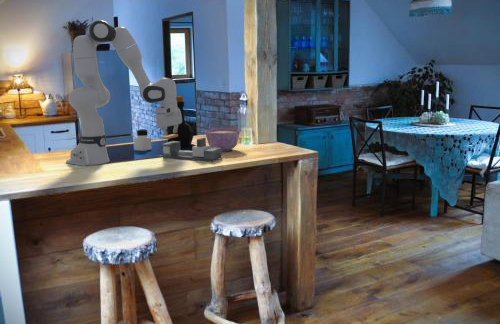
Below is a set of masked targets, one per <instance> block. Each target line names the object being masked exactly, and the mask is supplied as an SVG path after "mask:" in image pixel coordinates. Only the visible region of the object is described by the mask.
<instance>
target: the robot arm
mask: <svg viewBox="0 0 500 324" xmlns="http://www.w3.org/2000/svg"><path fill="white" fill-rule="evenodd" d="M106 43H109V44H110V45H111V46H112V47H113V48H114V51H115V52H116V54H117V56H118V57H119V59H120V60H121V61H122V62H123V65H125V66H126V67H127V68H128V70H130V72H131V74H132V76H133V77H134V79H135V81H136V83H137V85H138V86H139V94H140V97H141V99H142V100H143V102H146V103H148V104H155V103H158V102H160V105H159V106H157V108H155V109H154V111H155V114H156V115H155V121H156V127H157V128H159V129H161V130H162V133H163V136H166V135H168V132H167V131H166V130H167V128H168V127H169V126H172V125H174V130H173V133H177V128H178V124H181V123H182V115H181V111H180V109H179V108H178V107H177V100H176V96H178V95H177V85H176V82H175V80H174V79H173V78H168V77H160V78H159V79H158V80H156V81H155V82H153V83H152V82H151V80H150V79H149V77H148V75H147V73H146V71H145V68H144V66H143V62H142V60H143V59H142V52H141V50H140V47H139V45H138V44H137V42H136V40H135V38H134V37H133V35H132V33H131V32H130V31H129V30H128V29H127V28H126V27H124V26H116V27H114V26H113V25H111V24H109V23H108V22H107V21H105V20H101V19H96V20H94V21H93V22H90V24H89V26H88V27H87V30H86V33H85V34H84V35H83V34H82V35H78V36H76V37H75V38H74V40H73V43H72V55H73V64H74V72H75V73H74V74H75V75H76V77H77V78H79V80H80V81H81V83H82V86H80V87H77V88H75V89H73V90H71V91H70V93H69V94H68V103H69V104H70V106H71V107H72V108H73V109H74V110H75V111H76V113H77V115H78V118H79V120H80V121H79V123H80V129H81V136H78V137H77V139H78V140H79V143H78V144H77V145H76V146H75V147H74V148H72V150H71V151H70V153H69V154H70V155H69V156H70V158H69V159H67V160H66V161H65V164H72V165H77V166H82V167H83V166H84V167H85V166H94V165H95V166H96V165H103V164H107V163H109V162H110V158H109V155H108V150H107V145H106V144H107V143H106V142H107V139H106V134H105V127H104V119H103V118H102V117H101V116H100V114H99V113H98V110H97V108H102V107H103V106H105V105H107V104H108V103H109V102H110V100H111V93H110V91H109V89H108V88H107V87H106V86H105V85H104V83H103V81H102V78H101V74H100V72H99V71H100V70H99V63H98V56H97V55H98V54H97V47H98V46H100V45H102V44H106Z"/></svg>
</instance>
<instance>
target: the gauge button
mask: <svg viewBox="0 0 500 324" xmlns="http://www.w3.org/2000/svg"><path fill="white" fill-rule="evenodd" d="M174 137H178V134H171V135H167V136H165V135H163V136H162V138H161V139H162V140H168V139H170V138H174Z"/></svg>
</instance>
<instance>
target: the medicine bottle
mask: <svg viewBox="0 0 500 324" xmlns="http://www.w3.org/2000/svg"><path fill="white" fill-rule="evenodd" d="M133 145H134V148H133V149H134V151H139V152H141V151H142V152H146V151H150V150H152V149H153V148H152V137H150V136H149V135H148V130H147V129H146V128H141V129H140V128H139V129H137V130H136V137H134V138H133Z"/></svg>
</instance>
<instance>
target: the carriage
mask: <svg viewBox="0 0 500 324" xmlns="http://www.w3.org/2000/svg"><path fill="white" fill-rule="evenodd" d="M206 140H207V137H200V138H197V139H196V145H194V146H192V148H191V149H192V150H191V151H193V156H198V157H204V150H207V149H209V148H211V146H210V145H209V144H207V141H206Z"/></svg>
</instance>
